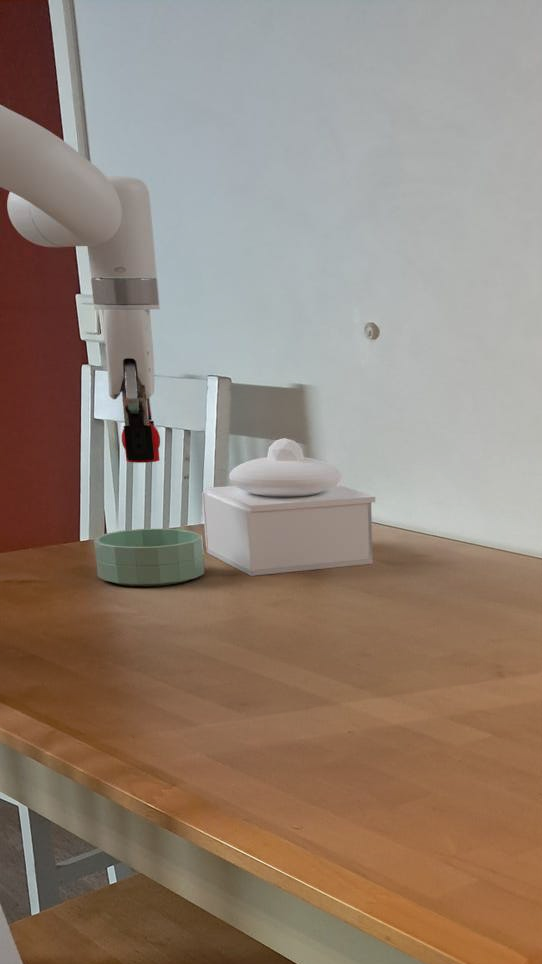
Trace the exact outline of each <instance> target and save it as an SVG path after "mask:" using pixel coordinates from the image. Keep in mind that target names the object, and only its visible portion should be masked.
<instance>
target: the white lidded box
mask: <svg viewBox="0 0 542 964" xmlns="http://www.w3.org/2000/svg"><path fill="white" fill-rule="evenodd" d="M228 479H229V481H230V483H231V484H232V485H226V486H213V487H212V486H211V487H206V488H205V490H206V491H205V492H201V496H202V497H201V499H202V512H203V513H202V514H203V526H204V536H205V539H204V540H205V548H206V553H207V554H208V555H211V556H212V557H214V558H216V559H218V560H219V561H221V562H223V563H225V564H227V565H229V566H231V567H233V568H235V569H237V570H239V571H240V572H242V573H244V574H246V575H248V576H250V577H254V576H263V575H265V576H266V575H273V574H283V573H284V574H285V573H295V572H304V571H313V570H322V569H324V570H325V569H335V568H343V567H354V566H362V565H363V566H364V565H373V563H374V560H373V559H374V558H373V557H374V556H373V555H374V554H373V520H372V518H373V517H372V503H373V504H374V503H376V496H375V495H372V494H369V493H365V492H362V491H359V490H356V489H352V488H350V487H346V486H343V485H340V484H339V483H340V481H341V479H342V474H341V472H340V470H338V469H337V468H336V467H335V465H332V464H330V463H329V462H326V461H323V460H320V459H316V458H312V457H305V456H304V452H303V448H302V446H300V445H299V444H298V443H297V441H296V440H293V439H290V438H286V437H283V438H280V439H276V440H275V441H274V442H272V444H271V445H270V446H269V447H268V450H267V456H266V457H265V456H264V457H258V458H255V459H251V460H248V461H245V462H243V463H240V464H238V465H237V466H235V467H233V469H231V471H230V472H229V475H228Z"/></svg>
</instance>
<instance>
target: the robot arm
mask: <svg viewBox="0 0 542 964" xmlns="http://www.w3.org/2000/svg"><path fill="white" fill-rule="evenodd" d="M0 188H2V189H4V190H6V191H8V192H9V193H8V195H7V200H6V201H7V203H6V208H7V214H8V218H9V220H10V222H11V224H12V226H13V228H14V229H15V230H16V231H17V233H18V234H20V236H22V237H23V238H24V239H26V240H27V241H28V242H30V243H33V245H36V246H41V247H44V248H45V247H46V248H70V247H87V256H88V264H89V273H90V283H91V293H92V301H93V309H94V310H103V335H104V349H105V359H106V371H107V381H108V395H109V397H110V398H111V399H112V400H117V399H118V398H119V397H120V395H121V396H122V399H121V400H122V407H123V420H124V425H123V429H124V434H125V444H126V453H127V459H128V460H129V461H146V460H153V459H154V448H153V438H152V428H151V425H149V423H151V424H152V425H153V426H154V427H155V422H154V420H153V418H152V417H153V416H152V408H151V399H150V398H151V397H152V396H153V395H154V394H155V358H154V357H155V356H154V355H155V354H154V344H153V343H154V342H153V329H152V320H151V319H152V318H151V310H161V305H160V294H159V283H158V274H157V263H156V252H155V251H156V250H155V242H154V230H153V220H152V219H153V218H152V207H151V199H150V191H149V188H148V186H147V185H146V183H145V182H144V181H143V180H141V179H139V178H136V177H129V176H117V175H116V176H115V175H113V176H112V175H110V176H107V175H105V173H103V172H102V170H100V169H99V168H98V167H97V166H96V165H94V163H92V162H91V161H90V160H88V159H87V158H86V157H85V156H84V155H82V154H81V153H80V152H78V151H77V150H76V149H75V148H73V147H72V146H71V145H70V144H69V143H67V142H65V141H64V140H63V139H62V138H60V137H59V136H57V135H56V134H54V133H53V132H52V131H50V130H48V129H46V127H44V126H41V125H40V124H38V123H36V122H35V121H33V120H31V119H29V118H27V117H25V116H23V115H21V114H19V113H17V112H16V111H14V110H12V109H9V108H7V107H6V106H4V105H1V104H0ZM148 418H149V421H148ZM126 453H125V454H126Z"/></svg>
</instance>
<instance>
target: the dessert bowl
mask: <svg viewBox="0 0 542 964" xmlns="http://www.w3.org/2000/svg"><path fill="white" fill-rule="evenodd" d="M93 544H94V554H95V562H96V572H97V578H99V579H101V580H103V581H105V582H110V583H113V584H117V585H122V586H128V587H158V586H159V587H160V586H161V587H162V586H169V585H177V584H183V583H186V582H188V581H191V580H193V579H198V578H200V577H202V576H203V575H205V573H206V572H205V571H206V569H205V557H204V556H205V555H204V544H203V534H201V533H198V532H196V531H193V530H187V529H181V528H180V529H179V528H136V529H127V530H119V531H118V530H117V531H113V532H107V533H103V534H101V535H98V536H96V537H95V538H94V541H93Z"/></svg>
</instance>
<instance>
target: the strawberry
mask: <svg viewBox="0 0 542 964" xmlns="http://www.w3.org/2000/svg"><path fill="white" fill-rule="evenodd" d="M148 421H149V418H148ZM149 425H151V428H152V438H153V448H154V459H153V460H146V461H129V460H128V459H127V453H126V444H125V434H124V428H123V429H122V432H121V436H120V437H121V444H122V447H123V449H124V451H125V452H124V453H125V461H126V462H127V463H135V464H136V463H137V464H138V463H140V464H141V463H143V464H145V463H146V464H147V463H155V462H159V461H160V450H159V449H160V445H161V437H160V432H159V431H158V429H157V427H156V426H155V425H154V426H153V425H152V424H151V423H149Z"/></svg>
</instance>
